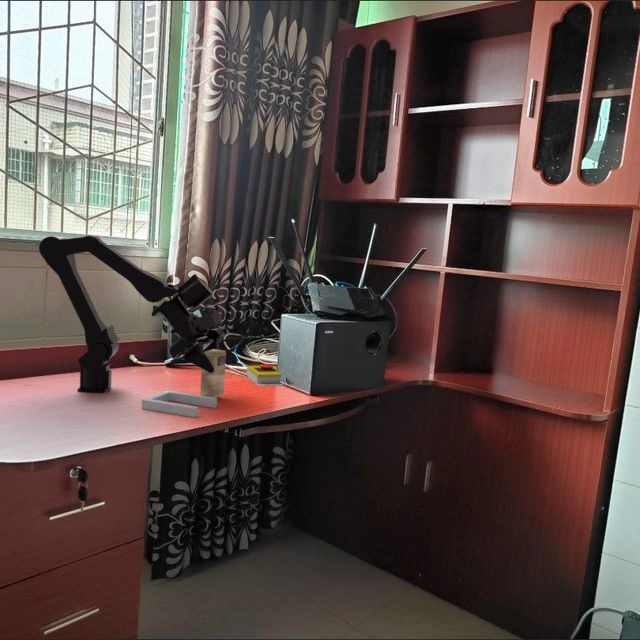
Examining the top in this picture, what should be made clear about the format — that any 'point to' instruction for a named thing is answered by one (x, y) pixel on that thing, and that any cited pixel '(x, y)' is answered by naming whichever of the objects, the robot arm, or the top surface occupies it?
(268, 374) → the emergency button
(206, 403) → the shallow open frame
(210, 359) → the beige rectangular block
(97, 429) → the top surface
